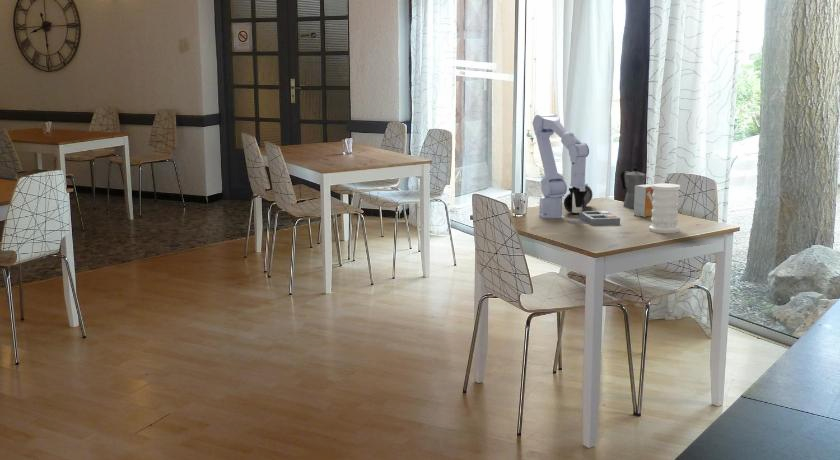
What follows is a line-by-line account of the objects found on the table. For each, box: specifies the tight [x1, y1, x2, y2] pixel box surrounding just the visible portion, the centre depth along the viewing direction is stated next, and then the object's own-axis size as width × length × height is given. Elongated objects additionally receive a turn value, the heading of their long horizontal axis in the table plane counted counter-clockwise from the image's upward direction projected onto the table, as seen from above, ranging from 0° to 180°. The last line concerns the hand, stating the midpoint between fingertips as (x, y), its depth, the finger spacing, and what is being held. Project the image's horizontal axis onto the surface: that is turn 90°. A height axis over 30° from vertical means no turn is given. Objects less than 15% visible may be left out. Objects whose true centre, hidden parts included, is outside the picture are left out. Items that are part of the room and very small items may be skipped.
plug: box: [572, 193, 583, 214], centre depth 383 cm, size 4×4×8 cm
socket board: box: [578, 210, 621, 226], centre depth 388 cm, size 12×18×3 cm, turn 6°
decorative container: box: [648, 182, 681, 234], centre depth 368 cm, size 12×12×18 cm
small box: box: [633, 183, 653, 218], centre depth 401 cm, size 8×6×13 cm
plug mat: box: [566, 219, 588, 225], centre depth 385 cm, size 7×7×1 cm
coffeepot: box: [619, 166, 648, 209], centre depth 423 cm, size 15×9×18 cm, turn 33°
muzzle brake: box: [563, 185, 594, 215], centre depth 414 cm, size 10×28×10 cm, turn 163°
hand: (577, 206), depth 384 cm, fingers closed on plug, 4 cm apart
